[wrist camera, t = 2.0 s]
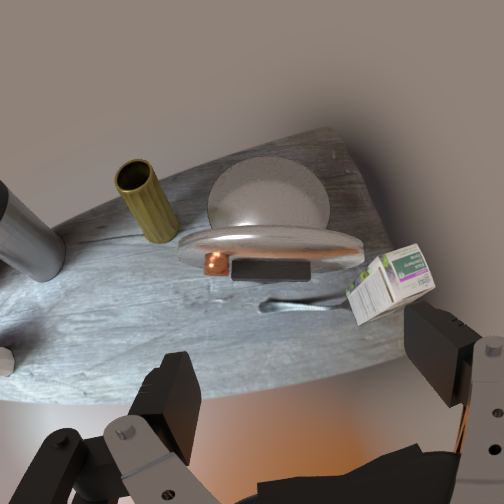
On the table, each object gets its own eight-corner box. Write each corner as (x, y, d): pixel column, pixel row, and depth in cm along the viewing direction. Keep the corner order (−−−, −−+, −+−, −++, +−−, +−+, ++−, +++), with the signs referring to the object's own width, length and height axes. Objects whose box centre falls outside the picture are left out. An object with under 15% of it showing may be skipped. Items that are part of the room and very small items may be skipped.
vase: (168, 204, 53) (143, 148, 39) (186, 229, 51) (164, 176, 37) (137, 224, 51) (104, 173, 38) (154, 251, 49) (121, 204, 36)
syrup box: (377, 279, 47) (416, 238, 33) (391, 315, 44) (438, 285, 31) (344, 291, 46) (376, 252, 33) (358, 328, 44) (397, 303, 31)
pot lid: (197, 263, 39) (196, 286, 38) (152, 223, 22) (149, 263, 21) (339, 265, 38) (339, 288, 38) (393, 228, 21) (396, 267, 21)
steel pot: (211, 282, 47) (201, 260, 39) (219, 189, 53) (213, 155, 45) (322, 284, 47) (335, 262, 38) (316, 191, 53) (324, 158, 45)
